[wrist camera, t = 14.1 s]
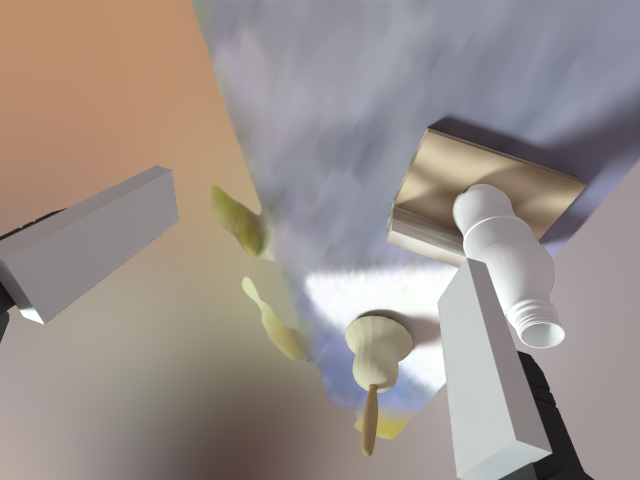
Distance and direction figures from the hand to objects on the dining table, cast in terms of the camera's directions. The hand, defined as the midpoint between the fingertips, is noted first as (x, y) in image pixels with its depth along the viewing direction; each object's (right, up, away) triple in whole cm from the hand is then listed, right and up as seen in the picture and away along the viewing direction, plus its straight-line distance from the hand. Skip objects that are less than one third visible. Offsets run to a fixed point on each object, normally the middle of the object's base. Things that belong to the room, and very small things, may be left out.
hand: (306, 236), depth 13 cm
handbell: (+14, -22, +54) cm, 60 cm away
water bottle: (+24, +6, +30) cm, 39 cm away
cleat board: (+25, +7, +32) cm, 41 cm away
